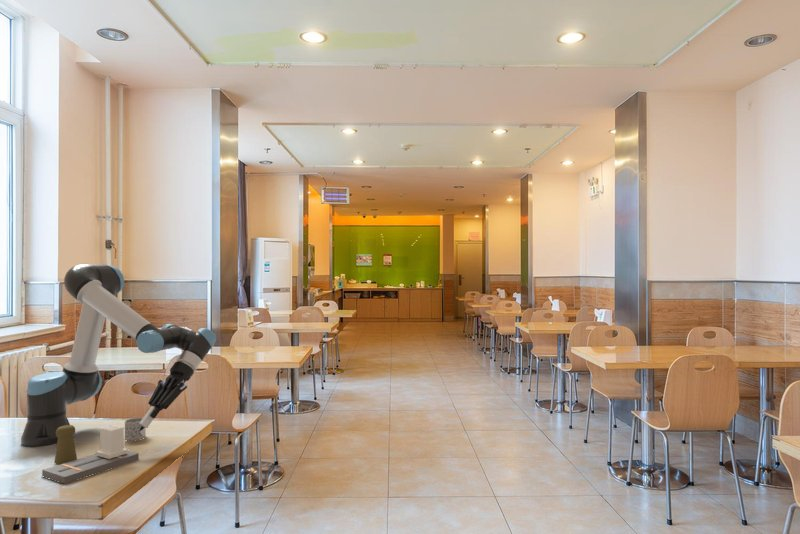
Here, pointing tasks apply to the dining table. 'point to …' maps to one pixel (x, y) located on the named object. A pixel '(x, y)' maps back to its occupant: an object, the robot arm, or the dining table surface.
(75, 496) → the dining table surface
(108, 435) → the slider handle
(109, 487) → the dining table surface
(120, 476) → the dining table surface
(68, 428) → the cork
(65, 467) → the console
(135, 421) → the mug
